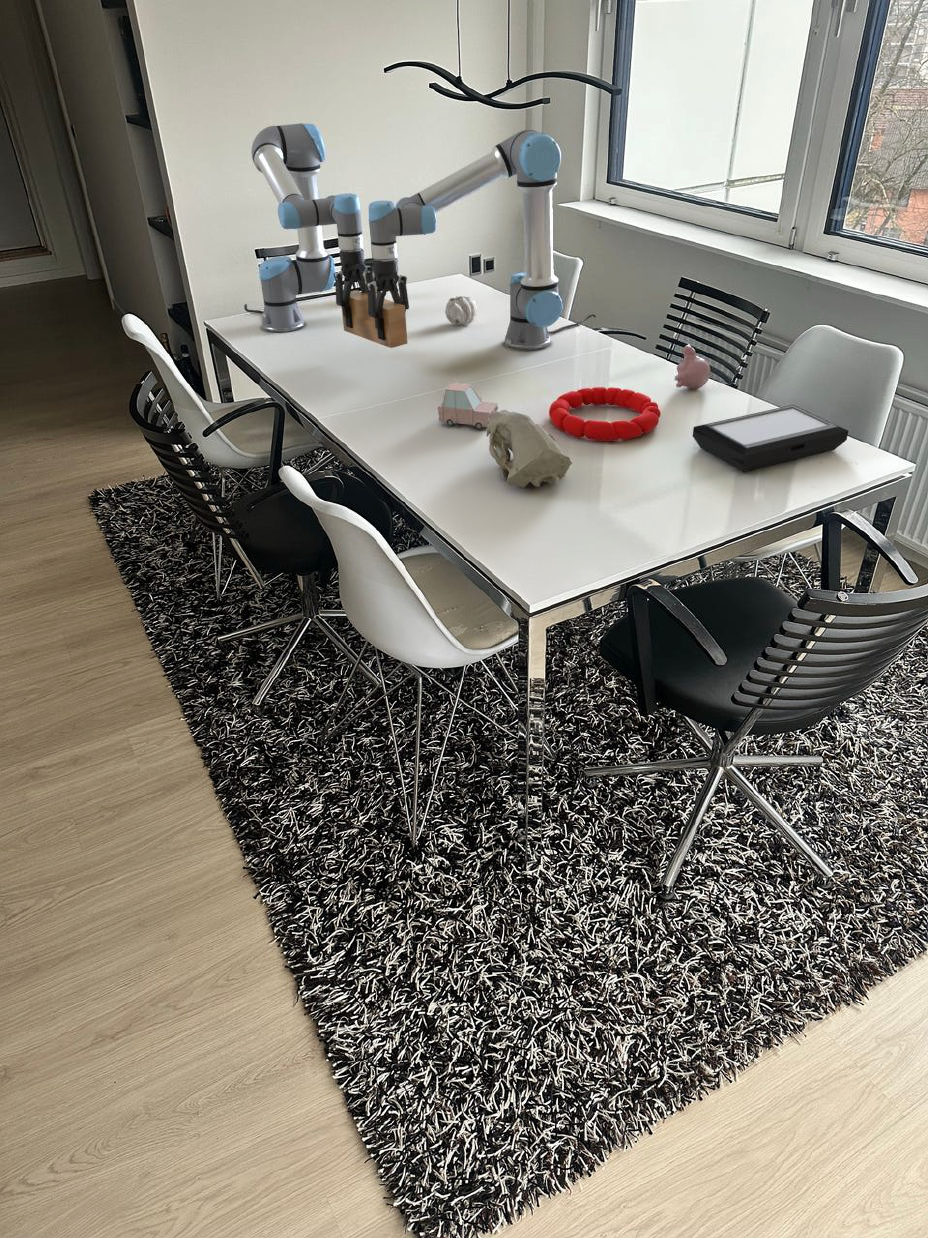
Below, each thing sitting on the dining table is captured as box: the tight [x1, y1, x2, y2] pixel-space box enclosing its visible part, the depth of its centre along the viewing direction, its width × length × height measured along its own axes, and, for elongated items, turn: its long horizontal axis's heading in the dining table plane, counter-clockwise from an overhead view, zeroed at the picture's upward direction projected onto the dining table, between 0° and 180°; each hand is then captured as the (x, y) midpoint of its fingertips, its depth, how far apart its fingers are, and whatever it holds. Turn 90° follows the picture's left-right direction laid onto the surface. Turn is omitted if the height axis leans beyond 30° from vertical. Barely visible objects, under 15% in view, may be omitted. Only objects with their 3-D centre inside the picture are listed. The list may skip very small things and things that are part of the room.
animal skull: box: [485, 409, 573, 489], centre depth 216 cm, size 17×25×20 cm
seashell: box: [444, 295, 478, 326], centre depth 319 cm, size 10×15×10 cm
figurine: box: [674, 344, 711, 390], centre depth 259 cm, size 9×11×12 cm
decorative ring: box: [548, 386, 661, 442], centre depth 242 cm, size 7×30×30 cm
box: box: [341, 289, 408, 349], centre depth 280 cm, size 26×6×12 cm, turn 40°
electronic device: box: [692, 404, 850, 473], centre depth 224 cm, size 32×6×20 cm
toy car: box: [437, 382, 499, 431], centre depth 243 cm, size 9×15×10 cm, turn 70°
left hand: (358, 324), depth 288 cm, fingers closed on box, 6 cm apart
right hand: (390, 336), depth 277 cm, fingers closed on box, 6 cm apart
